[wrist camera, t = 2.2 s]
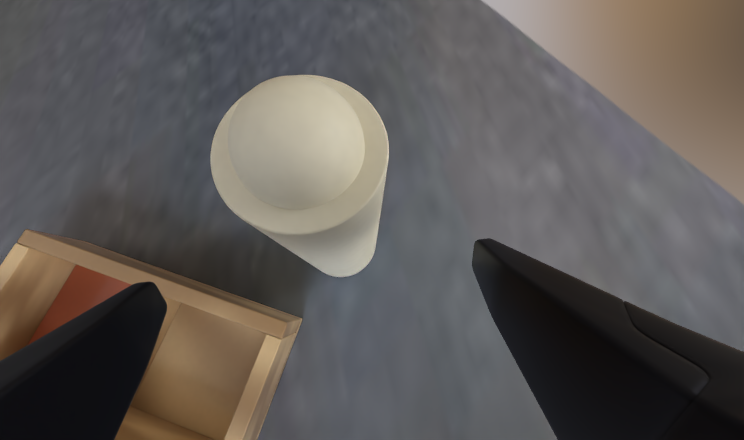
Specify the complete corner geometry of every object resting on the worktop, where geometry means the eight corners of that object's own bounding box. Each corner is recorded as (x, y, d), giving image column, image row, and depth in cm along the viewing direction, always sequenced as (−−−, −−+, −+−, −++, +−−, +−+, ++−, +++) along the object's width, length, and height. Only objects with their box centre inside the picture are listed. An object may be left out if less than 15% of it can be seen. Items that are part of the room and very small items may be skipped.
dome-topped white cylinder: (362, 286, 18) (350, 247, 5) (296, 264, 18) (119, 171, 5) (384, 221, 19) (421, 49, 6) (321, 201, 19) (228, -4, 6)
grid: (183, 635, 14) (125, 741, 10) (-83, 515, 15) (-212, 577, 11) (302, 318, 17) (288, 322, 14) (85, 241, 19) (24, 228, 15)
